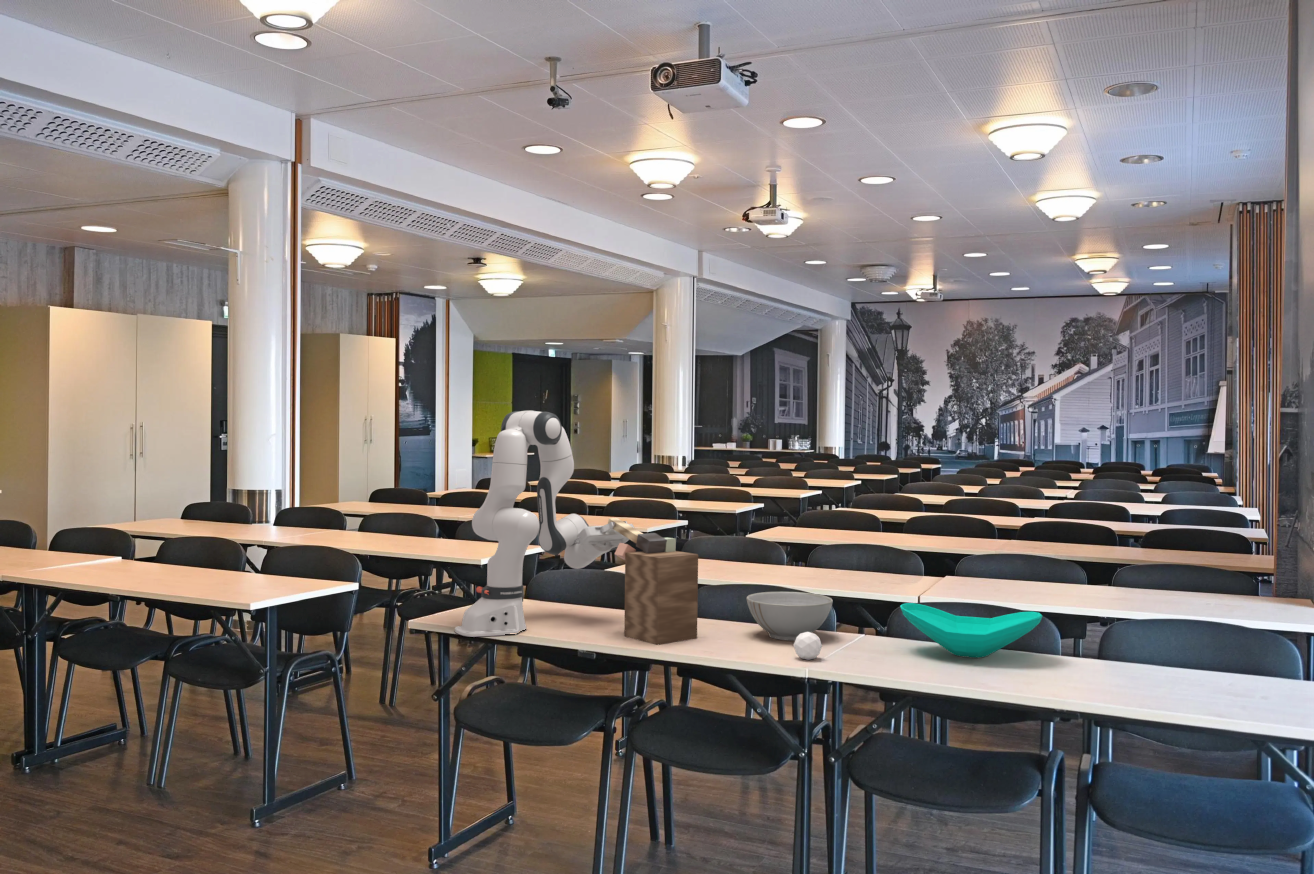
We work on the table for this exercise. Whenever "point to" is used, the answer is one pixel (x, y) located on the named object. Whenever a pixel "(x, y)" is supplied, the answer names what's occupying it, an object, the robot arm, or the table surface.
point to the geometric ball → (807, 645)
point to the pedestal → (661, 596)
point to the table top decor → (970, 629)
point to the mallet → (640, 537)
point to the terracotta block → (623, 550)
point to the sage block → (670, 545)
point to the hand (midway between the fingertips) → (619, 523)
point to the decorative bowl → (789, 612)
